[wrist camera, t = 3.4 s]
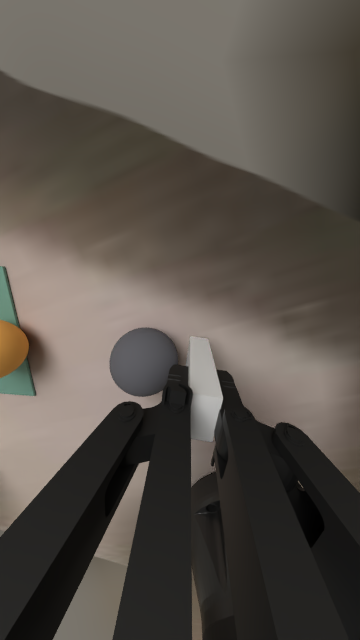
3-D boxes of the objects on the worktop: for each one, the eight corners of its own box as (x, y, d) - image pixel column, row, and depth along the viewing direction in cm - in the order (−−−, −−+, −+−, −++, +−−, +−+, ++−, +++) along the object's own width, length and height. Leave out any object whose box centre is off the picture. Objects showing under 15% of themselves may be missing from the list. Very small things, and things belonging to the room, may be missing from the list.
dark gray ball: (178, 372, 17) (174, 416, 12) (126, 368, 17) (99, 410, 12) (180, 321, 16) (176, 346, 10) (123, 318, 16) (90, 341, 11)
